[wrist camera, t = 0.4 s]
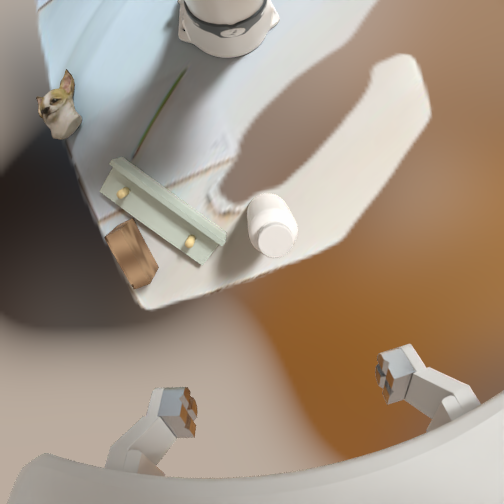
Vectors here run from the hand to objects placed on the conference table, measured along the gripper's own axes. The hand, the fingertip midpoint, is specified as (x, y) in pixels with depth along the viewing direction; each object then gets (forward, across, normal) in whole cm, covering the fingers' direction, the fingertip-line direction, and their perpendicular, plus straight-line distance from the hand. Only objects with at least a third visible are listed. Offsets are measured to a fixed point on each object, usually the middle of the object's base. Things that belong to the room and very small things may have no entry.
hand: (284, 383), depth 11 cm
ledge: (+46, +18, +2) cm, 49 cm away
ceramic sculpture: (+46, +34, -25) cm, 63 cm away
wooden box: (+46, +26, +8) cm, 53 cm away
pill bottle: (+46, -2, +6) cm, 47 cm away
